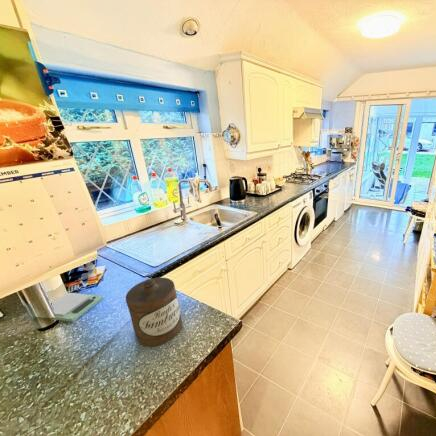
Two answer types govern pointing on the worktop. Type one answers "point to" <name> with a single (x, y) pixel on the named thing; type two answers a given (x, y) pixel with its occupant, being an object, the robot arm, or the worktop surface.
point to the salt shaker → (89, 266)
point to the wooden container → (154, 311)
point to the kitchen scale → (73, 305)
